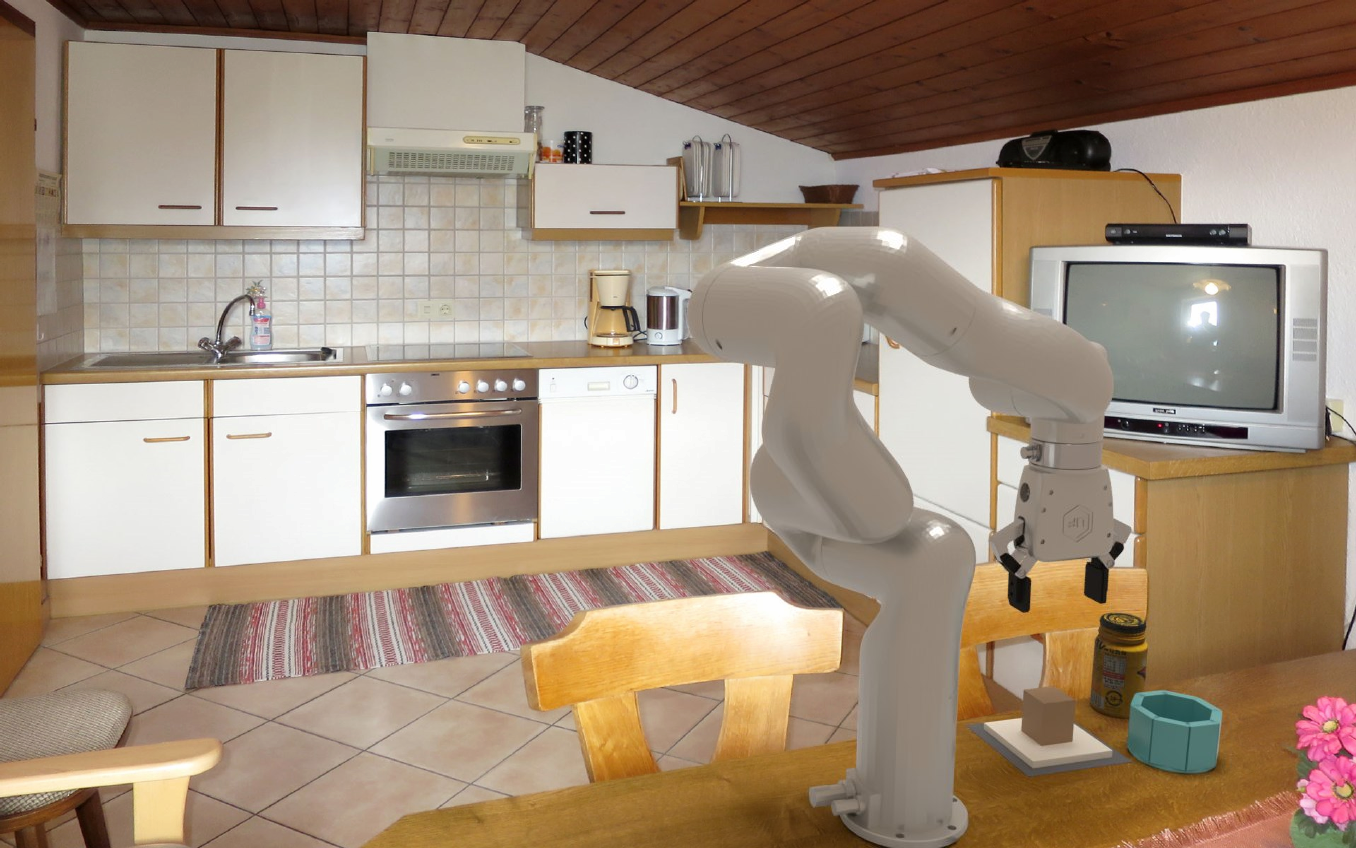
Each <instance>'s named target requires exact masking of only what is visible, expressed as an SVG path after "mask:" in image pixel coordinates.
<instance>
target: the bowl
mask: <svg viewBox="0 0 1356 848" xmlns="http://www.w3.org/2000/svg"><path fill="white" fill-rule="evenodd" d="M1222 718H1223V711H1222V709H1220V708H1218V707H1216V706H1215V705H1213V704H1211V703H1209V702H1208V701H1206V700H1204V699H1202V698H1200V697H1198V696H1194V695H1189V694H1185V693H1181V692H1180V693H1179V692H1175V691H1169V690H1163V689H1162V690H1152V691H1144V692H1141V693H1136V694H1135V695H1134V697H1133V700H1132V702H1131V705H1130V716H1129V718H1128V729H1127V730H1128V732H1127V741H1126V747H1127V749H1128V751H1129V753H1130V754H1131V755H1132V757H1134V758H1135V759H1137V760H1138V761H1140V762H1142V763H1144V764H1145V765H1147V766H1149V767H1150V766H1151V767H1153V768H1156V769H1159V770H1162V771H1168V772H1171V773H1179V774H1201V773H1202V774H1203V773H1206V772H1209V771H1211V770H1213V769H1215V767H1216V765H1217V762H1218V761H1217V760H1218V755H1219V747H1220V739H1221V738H1220V737H1221V729H1222V720H1223V719H1222Z"/></svg>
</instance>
